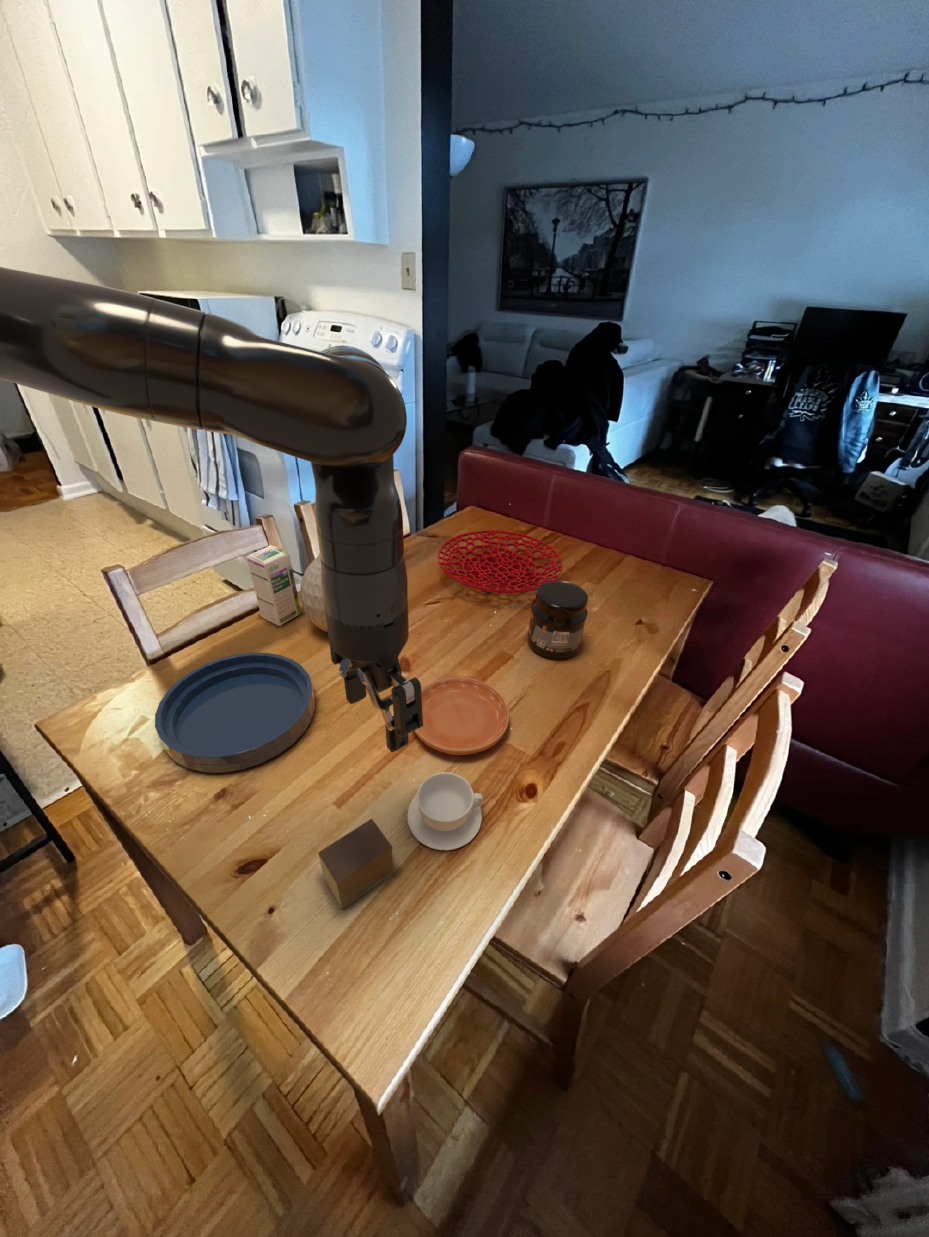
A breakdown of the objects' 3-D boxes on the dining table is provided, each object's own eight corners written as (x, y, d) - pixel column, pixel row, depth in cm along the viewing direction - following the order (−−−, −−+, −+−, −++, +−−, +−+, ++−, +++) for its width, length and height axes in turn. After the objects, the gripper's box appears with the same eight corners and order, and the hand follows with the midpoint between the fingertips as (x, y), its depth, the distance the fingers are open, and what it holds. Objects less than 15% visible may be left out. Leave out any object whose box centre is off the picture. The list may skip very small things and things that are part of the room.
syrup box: (279, 627, 99) (266, 563, 91) (260, 617, 102) (245, 554, 93) (301, 614, 103) (290, 552, 95) (282, 604, 106) (269, 543, 97)
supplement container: (553, 622, 105) (562, 573, 98) (590, 649, 98) (603, 598, 91) (515, 639, 100) (522, 588, 93) (552, 668, 93) (562, 616, 86)
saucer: (527, 737, 79) (530, 724, 77) (440, 779, 72) (441, 766, 70) (473, 677, 90) (474, 665, 88) (392, 709, 83) (391, 696, 81)
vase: (355, 601, 108) (348, 531, 98) (382, 632, 100) (377, 558, 90) (297, 619, 102) (283, 546, 92) (320, 653, 93) (308, 576, 84)
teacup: (410, 857, 62) (410, 836, 60) (405, 789, 70) (404, 768, 68) (488, 846, 64) (491, 825, 61) (474, 781, 72) (476, 760, 69)
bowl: (476, 624, 103) (477, 604, 100) (416, 561, 124) (416, 543, 121) (585, 591, 116) (589, 573, 113) (514, 539, 136) (516, 522, 133)
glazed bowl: (187, 803, 67) (178, 785, 65) (147, 706, 81) (139, 688, 79) (339, 726, 79) (337, 709, 77) (282, 653, 93) (278, 636, 91)
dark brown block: (342, 910, 57) (336, 884, 53) (324, 879, 60) (317, 852, 56) (394, 872, 61) (392, 845, 57) (375, 845, 63) (372, 817, 60)
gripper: (293, 577, 48) (315, 699, 57) (370, 654, 39) (381, 783, 48) (363, 556, 52) (372, 673, 61) (446, 621, 43) (442, 746, 52)
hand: (376, 721), depth 55 cm, fingers open, 8 cm apart
